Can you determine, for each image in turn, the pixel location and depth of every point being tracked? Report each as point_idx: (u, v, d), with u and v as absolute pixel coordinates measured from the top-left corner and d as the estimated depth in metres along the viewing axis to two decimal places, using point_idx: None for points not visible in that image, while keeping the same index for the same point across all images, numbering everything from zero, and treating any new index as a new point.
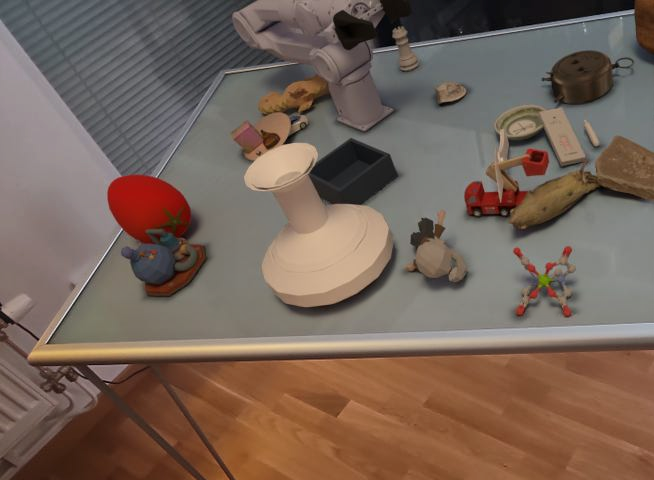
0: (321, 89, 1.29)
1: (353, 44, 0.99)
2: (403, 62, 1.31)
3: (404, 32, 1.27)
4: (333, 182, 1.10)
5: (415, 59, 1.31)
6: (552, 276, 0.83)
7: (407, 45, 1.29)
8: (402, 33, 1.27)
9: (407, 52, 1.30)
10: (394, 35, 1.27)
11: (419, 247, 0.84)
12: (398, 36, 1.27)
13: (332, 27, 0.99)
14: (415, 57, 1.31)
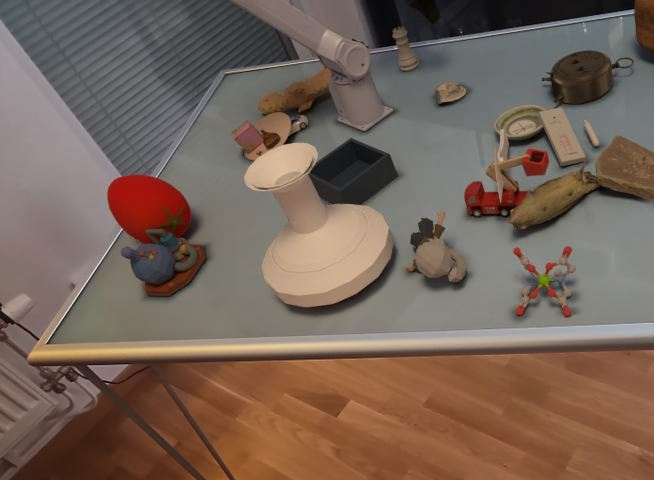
0: (321, 89, 1.29)
1: (418, 9, 1.14)
2: (403, 62, 1.31)
3: (404, 32, 1.27)
4: (333, 182, 1.10)
5: (415, 59, 1.31)
6: (552, 276, 0.83)
7: (407, 45, 1.29)
8: (402, 33, 1.27)
9: (407, 52, 1.30)
10: (394, 35, 1.27)
11: (419, 247, 0.84)
12: (398, 36, 1.27)
13: None
14: (415, 57, 1.31)
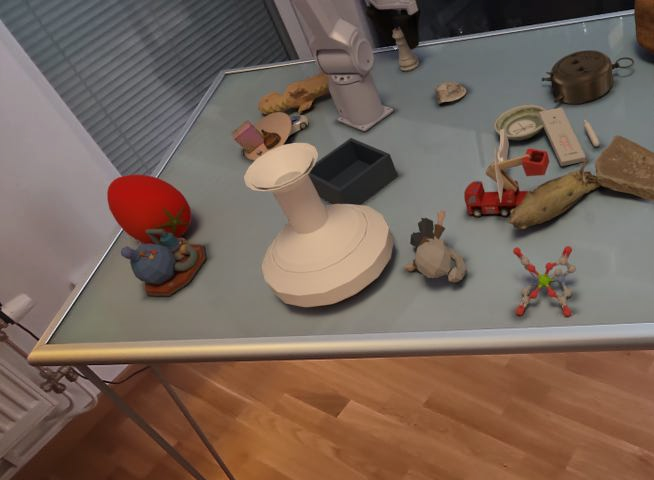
0: (321, 89, 1.29)
1: (405, 28, 1.22)
2: (403, 62, 1.31)
3: None
4: (333, 182, 1.10)
5: (415, 59, 1.31)
6: (552, 276, 0.83)
7: (407, 45, 1.29)
8: (402, 33, 1.27)
9: (407, 52, 1.30)
10: (394, 35, 1.27)
11: (419, 247, 0.84)
12: (398, 36, 1.27)
13: None
14: (415, 57, 1.31)
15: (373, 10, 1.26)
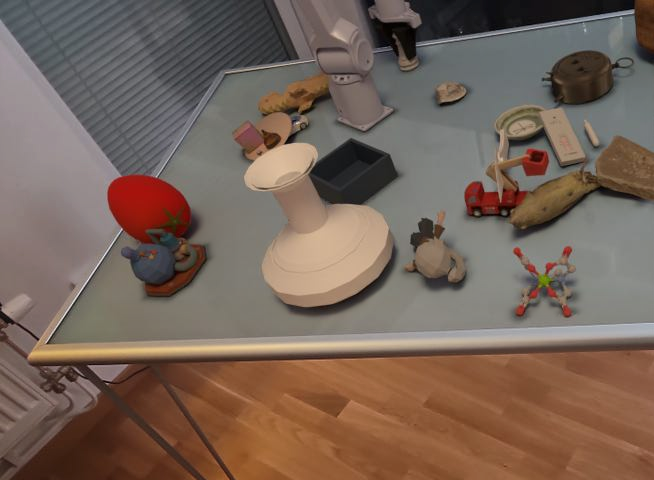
0: (321, 89, 1.29)
1: (403, 39, 1.25)
2: (403, 62, 1.31)
3: None
4: (333, 182, 1.10)
5: (415, 59, 1.31)
6: (552, 276, 0.83)
7: None
8: None
9: None
10: (394, 35, 1.27)
11: (418, 247, 0.84)
12: None
13: None
14: (415, 57, 1.31)
15: (382, 24, 1.27)
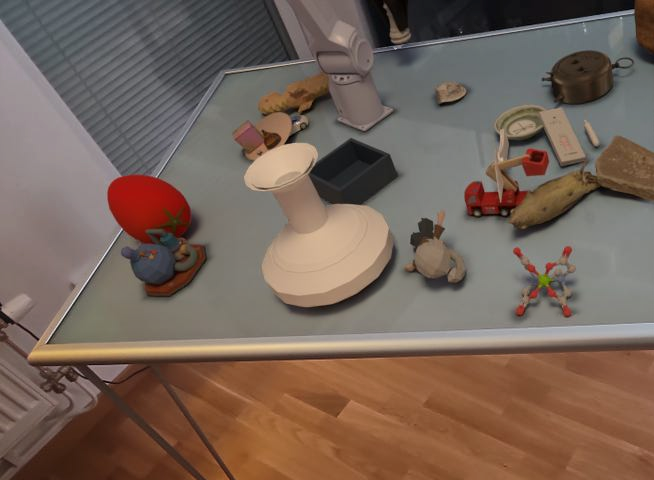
0: (321, 89, 1.29)
1: (394, 9, 1.20)
2: (395, 34, 1.26)
3: None
4: (333, 182, 1.10)
5: (407, 31, 1.26)
6: (552, 276, 0.83)
7: None
8: None
9: None
10: (385, 5, 1.22)
11: (418, 247, 0.84)
12: None
13: None
14: (407, 29, 1.26)
15: None
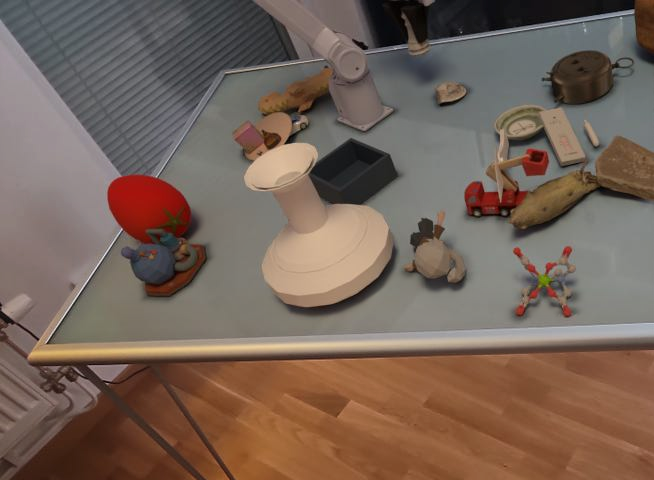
0: (321, 89, 1.29)
1: (414, 19, 1.11)
2: (413, 46, 1.17)
3: None
4: (333, 182, 1.10)
5: (426, 42, 1.17)
6: (552, 276, 0.83)
7: None
8: None
9: None
10: (403, 15, 1.14)
11: (418, 247, 0.84)
12: None
13: None
14: (426, 41, 1.18)
15: (390, 3, 1.14)
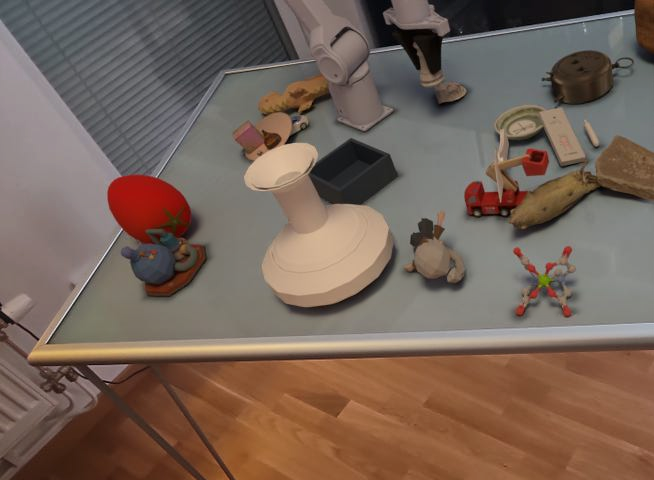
0: (321, 89, 1.29)
1: (427, 49, 1.03)
2: (426, 76, 1.08)
3: None
4: (333, 182, 1.10)
5: (440, 73, 1.09)
6: (552, 276, 0.83)
7: None
8: None
9: None
10: (415, 44, 1.05)
11: (418, 248, 0.84)
12: None
13: None
14: (440, 71, 1.09)
15: (401, 31, 1.05)
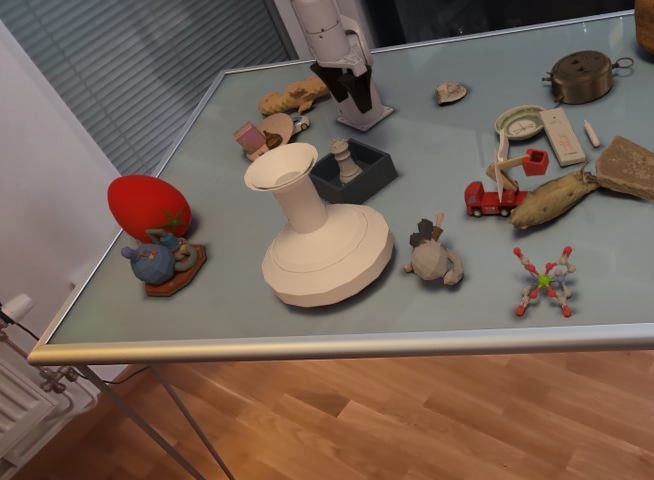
0: (321, 89, 1.29)
1: (352, 90, 0.99)
2: (343, 178, 1.07)
3: (342, 147, 1.02)
4: (333, 182, 1.10)
5: None
6: (552, 276, 0.83)
7: (347, 161, 1.05)
8: (339, 148, 1.02)
9: (347, 169, 1.05)
10: (331, 149, 1.03)
11: (415, 249, 0.84)
12: (334, 151, 1.03)
13: None
14: (358, 174, 1.06)
15: (318, 64, 1.04)
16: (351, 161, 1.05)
